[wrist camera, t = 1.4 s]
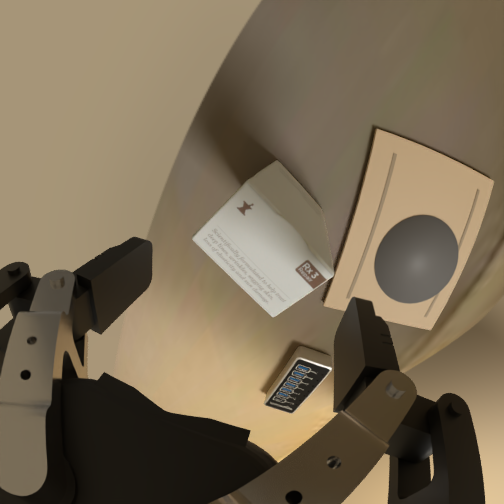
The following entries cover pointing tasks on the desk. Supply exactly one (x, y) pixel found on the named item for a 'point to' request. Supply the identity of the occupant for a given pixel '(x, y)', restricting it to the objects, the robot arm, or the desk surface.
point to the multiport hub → (298, 379)
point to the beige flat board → (409, 232)
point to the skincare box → (270, 239)
